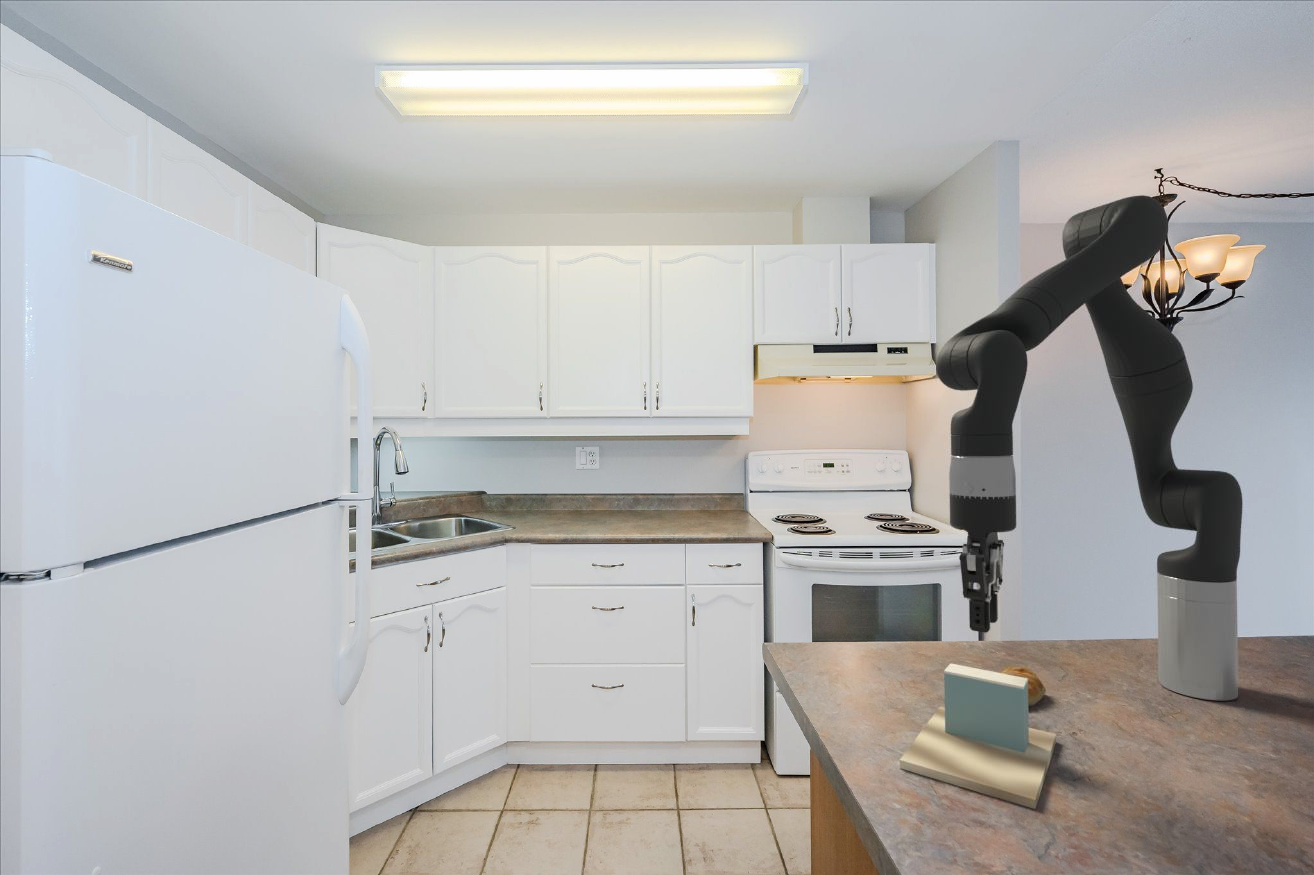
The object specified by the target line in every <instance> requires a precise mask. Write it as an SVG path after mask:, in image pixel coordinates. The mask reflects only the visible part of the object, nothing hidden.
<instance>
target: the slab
mask: <svg viewBox="0 0 1314 875" xmlns="http://www.w3.org/2000/svg"><path fill="white" fill-rule="evenodd" d="M943 672H944V673H943V676H944V679H943V682H944V686H943V687H944V708H945V732H946V733H950V734H954V735H958V736H961V737H965V738H969V739H973V740H977V741H981V742H985V743H988V744H992V745H996V746H1000V747H1004V748H1008V749H1012V750H1015V751H1019V752H1023V753H1025V751H1026V748H1027V746H1028V743H1029V728H1030V727H1029V723H1030V722H1029V706H1028V678H1023V677H1018V676H1012V675H1007V674H1002V672H997V671H992V670H986V669H981V668H976V667H970V666H967V665H966V666H965V665H961V664H955V663H952V662H951V663H949V665H947V666H946V668H945V669H944V671H943Z"/></svg>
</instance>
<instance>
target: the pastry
mask: <svg viewBox="0 0 1314 875" xmlns="http://www.w3.org/2000/svg"><path fill="white" fill-rule="evenodd" d="M1001 673H1002V674H1007V675H1012V676H1018V677H1023V678H1028V707H1033V706H1036V704H1037V703H1038V702H1040V701H1041V700H1042V698H1043V697H1044V695H1045V694H1046V691H1047V689H1046V687H1045V685H1043V683H1042V680H1041V679H1040V678H1039V677H1038V676H1037V674H1036V673H1035V672H1034V671H1032V670H1031V669H1028V668H1026V667H1021V666H1016V667H1007V668H1006V669H1005V670H1002V672H1001Z"/></svg>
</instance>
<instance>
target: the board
mask: <svg viewBox="0 0 1314 875" xmlns="http://www.w3.org/2000/svg"><path fill="white" fill-rule="evenodd" d="M1056 744H1057V733H1053V732H1049V731H1045V730H1040V729H1036V728H1032V727H1029V743H1028V746H1027V748H1026V751H1025V753H1023V752H1019V751H1015V750H1012V749H1008V748H1004V747H1000V746H996V745H992V744H988V743H985V742H981V741H977V740H973V739H969V738H965V737H961V736H958V735H954V734H950V733H946V732H945V706H943V707H942V706H939V707H938V708H937V709H936V711H935V712H934V714H933V715H932V716H931V718H930V719H929V720H928V721H927V723H926V724H925V726H924V727H923V728H922V730H921V731H920V732H919V733H918V735H917V736H916V738H915V739H914V740H913V742H912V743H911V744H910V746H909V747H908V748H907V750H906V751H905V752H904V753H903V755H902V756H901V758H900V759H899V769H902V770H904V771H908V772H912V773H915V774H918V775H921V776H924V777H928V778H931V779H934V780H937V781H940V782H943V783H948V784H949V785H950V784H951V785H953V786H954V785H955V786H958V787H960V788H964V789H968V790H971V791H974V792H977V793H981V794H984V795H986V796H990V797H994V798H996V799H1000V800H1003V801H1007V802H1011V803H1014V804H1016V805H1020V806H1023V807H1027V808H1030V809H1033V810H1036V809H1037V806H1038V802H1039V799H1040V796H1041V793H1042V790H1043V789H1042V788H1043V786H1044V782H1045V780H1046V776H1047V772H1048V770H1049V766H1050V764H1051V763H1050V762H1051V760H1052V758H1053V753H1054V750H1055V747H1056Z"/></svg>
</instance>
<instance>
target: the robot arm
mask: <svg viewBox="0 0 1314 875" xmlns="http://www.w3.org/2000/svg"><path fill="white" fill-rule="evenodd" d="M1168 234H1169V218H1168V216H1167V213H1166V210H1165V209H1164V207H1163V205H1162V204H1161V203H1160V201H1158V200H1157V199H1156V198H1154V197H1151V196H1149V195H1144V194H1142V195H1132V196H1128V197H1124V198H1121V199H1118V200H1114V201H1111V202H1109V203H1106V204H1102V205H1098V206H1095V207H1093V208H1090V209H1086V210H1084V211H1081V212H1078V213H1076V214H1074V215H1072V216H1071V217H1070V218H1068V220H1067V221H1066V223H1065V225H1064V228H1063V230H1062V235H1061V236H1062V237H1061V238H1062V239H1061V240H1062V249H1063V252H1064V257H1065V259H1064V260H1063V261H1061V262H1059V263H1057V264H1055V265H1054V266H1052V267H1050V268H1048V269H1046V270H1044V271H1042V272H1041V273H1039V274H1038V275H1036V276H1035V277H1033V278H1032V279H1030V280H1028V281H1027V282H1026V283H1024V284H1023V285H1021V286H1020V287H1019V288H1018V289H1017V290H1015V291H1014V292H1013V293H1012V294H1011V295H1010V296H1009V297H1008V298H1007V299H1006V300H1005V301H1003V302H1002V303H1001V304H1000V305H999V306H998V307H997V308H996V309H995V310H994V311H992V312H991V313H989V314H988V315H986V316H984V317H981V318H980V319H978V320H976V321H974V323H971V324H970V325H969V326H966V327H965V328H963V329H962V330H960V331H958V332H957V333H955V334H954V335H953V336H952V337H951V338H949V340H948V339H947V341H946V342H945V343H944V345H943V346H942V347H941V349H940V350H939V352H938V355H937V358H936V363H935V372H936V374H937V377H938V379H939V380H940V382H941V383H942V384H943V385H944V386H946V387H947V388H949V389H950V390H951V389H952V390H954V391H961V392H963V391H964V392H965V391H975V390H976V394H975V396H974V399H973V402H972V404H971V406H969V407H967V408H964V409H961V410H959V411H957V412H955V413H954V414H953V415H952V417H951V421H950V455H951V456H950V465H949V472H948V473H949V474H948V475H949V477H948V480H949V484H948V485H949V488H948V489H949V524H950V526H951V527H952V528H954V529H956V530H958V531H965V532H966V533H967V539H966V543H963V544H962V551H961V552H960V555H959V556H958V560H959V562H960V563H959V564H960V573H961V583H962V595H963V599H966V600H968V602H969V604H968V606H969V607H968V610H969V611H968V613H969V614H968V615H969V616H968V617H969V620H968V621H969V628H970V630H971V631H973V632H977V633H978V632H979V633H985V634H986V633H989V631H990V630H991V624H996V623H997V621H998V619H999V616H998V615H999V612H998V610H999V609H998V606H999V604H998V602H999V601H998V593H1000V590H1001V586H1002V584H1003V566H1004V565H1003V564H1004V563H1003V560H1004V547H1005V542H1004V539H999V536H998V533H1007V532H1012V531H1014V530H1015V529H1016V528H1017V487H1016V486H1017V484H1016V481H1017V480H1016V479H1017V476H1016V469H1015V468H1016V467H1015V464H1014V456H1013V455H1014V440H1013V439H1014V437H1013V436H1014V435H1013V423H1014V420H1015V416H1016V412H1017V409H1018V405H1019V401H1020V399H1021V394H1022V391H1023V387H1024V384H1025V381H1026V377H1027V372H1028V354H1027V352H1028V351H1031V350H1034V349H1036V347H1038V346H1039V345H1041V344H1042V343H1043V342H1044V341H1045V340H1046V339H1048V337H1049V336H1050V335H1051V334H1052V333H1053V332H1055V331H1056V330H1057V328H1059V327H1060V326H1061V325H1062V324H1063V323H1064V322H1065V321H1066V320H1067V319H1068V318H1069V317H1070V316H1071V315H1072V314H1074V313H1075V312H1076V311H1077V310H1079V309H1080V307H1082V306H1084V305H1085V307H1086V309H1087V312H1088V314H1089V317H1090V320H1091V322H1092V324H1093V328H1094V330H1095V333H1096V336H1097V339H1098V343H1099V345H1100V349H1101V351H1102V356H1103V359H1104V363H1105V365H1106V366H1105V367H1106V370H1107V375H1108V377H1109V380H1110V384H1111V386H1112V390H1113V393H1114V395H1115V399H1116V402H1117V404H1118V406H1119V410H1120V413H1121V417H1122V419H1123V422H1124V426H1125V429H1126V432H1127V433H1126V435H1127V436H1128V441H1129V444H1130V447H1131V448H1130V449H1131V454H1132V458H1133V462H1134V469H1135V473H1136V481H1137V485H1138V490H1139V494H1140V499H1141V503H1142V506H1143V509H1144V512H1145V514H1146V515H1147V517H1148V519H1149V520H1150V521H1151V522H1152V523H1154V524H1156V525H1157V526H1160V527H1163V528H1169V529H1175V530H1176V529H1177V530H1184V531H1191V532H1196V535H1195V540H1194V543H1193V544H1192V545H1190V546H1188V547H1186V548H1182V549H1176V550H1169V551H1165V552H1162V553H1161V552H1160V554H1159V555H1158V556H1157V560H1156V585H1157V586H1156V587H1157V589H1156V590H1157V591H1156V592H1157V654H1158V656H1157V658H1158V659H1157V660H1158V661H1157V662H1158V664H1157V665H1158V666H1157V669H1158V683H1159V684H1160V685H1161V686H1162V687H1164V688H1165V689H1167V690H1170V691H1171V692H1175V693H1178V694H1181V695H1182V696H1183V695H1184V696H1188V697H1192V698H1196V699H1197V698H1198V699H1201V700H1209V701H1222V702H1223V701H1231V700H1232V701H1233V700H1236V699H1237V698H1238V696H1239V657H1238V656H1239V646H1238V644H1239V642H1238V636H1239V635H1238V592H1237V591H1238V585H1237V584H1238V583H1237V581H1238V580H1237V579H1238V576H1237V574H1238V572H1237V571H1238V566H1239V561H1240V557H1241V539H1242V538H1241V536H1242V534H1241V533H1242V523H1243V522H1242V520H1243V502H1244V501H1243V493H1242V490H1241V486H1240V484H1239V481H1238V480H1237V478H1236V477H1235V476H1234V475H1233V474H1232V473H1229V472H1227V471H1222V470H1208V469H1207V470H1204V469H1203V470H1202V469H1181V468H1178V467H1177V465H1176V463H1175V460H1174V456H1173V451H1172V437H1173V435H1174V432H1175V430H1176V427H1177V425H1178V423H1179V421H1180V420H1181V418H1182V416H1183V414H1184V412H1185V410H1186V409H1187V407H1188V404H1189V403H1190V399H1191V397H1192V394H1193V390H1194V388H1193V387H1194V384H1193V380H1192V374H1191V371H1190V367H1189V365H1188V361H1187V356H1186V353H1185V351H1184V348H1183V346H1182V343H1181V341H1180V340H1179V339H1178V338H1177V337H1176V336H1175V334H1174V333H1173V332H1171V331H1170V330H1169V329H1168V328H1167V327H1166V326H1165V325H1164V324H1162V323H1161V322H1160V321H1159V320H1157V319H1156V317H1154V316H1153V315H1151V314H1150V313H1149V312H1148V311H1146V309H1144V308H1143V307H1142V306H1141V305H1140V304H1138V303H1137V302H1136V300H1134V299H1133V297H1132V296H1131V295H1130V293H1129V291H1128V290H1127V289H1126V287H1125V284H1124V282H1123V279H1122V277H1123V276H1125V275H1126V274H1127V273H1128V274H1129V273H1130V272H1131V271H1133V270H1134V269H1136V268H1138V267H1139V266H1142V265H1143V264H1144V263H1146V262H1148V261H1149V260H1151V259H1152V258H1154V256H1156V255H1157V254H1158V253H1159V252H1160V251H1161V250H1162V248H1163V246H1164V244H1166V243H1165V242H1166V241H1167V237H1168ZM974 584H975V585H976V588H977V589H976V588H974Z"/></svg>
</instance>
